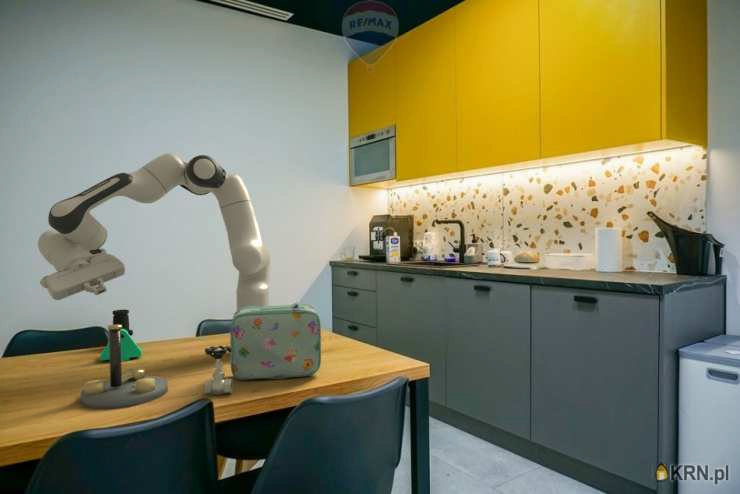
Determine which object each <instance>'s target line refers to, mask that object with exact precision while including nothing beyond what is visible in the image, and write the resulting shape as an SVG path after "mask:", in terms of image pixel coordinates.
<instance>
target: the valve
mask: <svg viewBox="0 0 740 494" xmlns="http://www.w3.org/2000/svg"><path fill="white" fill-rule="evenodd" d="M204 352H205V355H208V356H210V357H212V358H213V359H214V360H216V361H215V362H214V368H215V370H214V371H213V372H212V378H213V379H205V381H204V386H203V392H204V394H205V395H216V396H221V395H223V394H225V395H226V394H232V393H233V390H234V380H233V378H225V379H224V377H225V371H224V370H223V369H222V368H223V361H221V360H222V359H223V356H224V355H226V354H227V353H230V352H231V348H230V345H226V346H224V345H218V346H210V347H209V348H204Z"/></svg>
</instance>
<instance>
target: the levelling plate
mask: <svg viewBox="0 0 740 494" xmlns="http://www.w3.org/2000/svg"><path fill="white" fill-rule="evenodd" d="M168 383H169V382H168V380H167V379H166V378H163V377H162V376H156V375H145V378H143V379H139V380H125V381H123V382H122V385H121V386H118V387H110V379H108V380H104V379H94V380H90V381H87V382H84V385H83V387H84V389H83V390H82V391H81V392H80V404H81V405H82V406H83V407H86V408H91V409H98V408H100V409H101V410H102V409H105V410H107V409H106V408H108V409H118V408H120V409H121V408H126V407H127V406H128V407H132V405H133V406H137V405H142V404H146V403H148V402H149V403H150V402H152V401H155V400H156V399H159V398H161V397H163V396H164V395H165V394H167V393H168V391H169V385H168ZM154 399H155V400H154ZM128 407H127V408H128Z"/></svg>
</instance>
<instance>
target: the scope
mask: <svg viewBox="0 0 740 494" xmlns="http://www.w3.org/2000/svg"><path fill="white" fill-rule="evenodd" d="M129 314H130V309H115V310H112V315H113V316H112V325H115V324H121V325H122V328H121V329H125V330H126V331H127V332H128V334H129V335H130V337H131V336H132V337H133V335H134V331H133V329H130V318H129V317H130V316H129ZM122 338H124V335H123V334H121V339H122ZM107 341H108V342H107V344H106V346H107V345H108V343H109V332H108V336H107Z"/></svg>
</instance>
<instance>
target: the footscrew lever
mask: <svg viewBox="0 0 740 494" xmlns="http://www.w3.org/2000/svg"><path fill="white" fill-rule="evenodd" d="M121 328H122V325H121V324H115V325H113V324H110V325H109V324H108V325H107V330H108V333H109V335H108V336H109V340H108V342H109V345H110V359H109V380H110V387H118V386H121V385H122V382H123V381H125V380H139V379H143V378H145V376H146V372H145V371H146V369H145V368H144V367H134V368H130V369H126V373H123V372H122V361H121ZM122 373H123V374H122Z"/></svg>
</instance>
